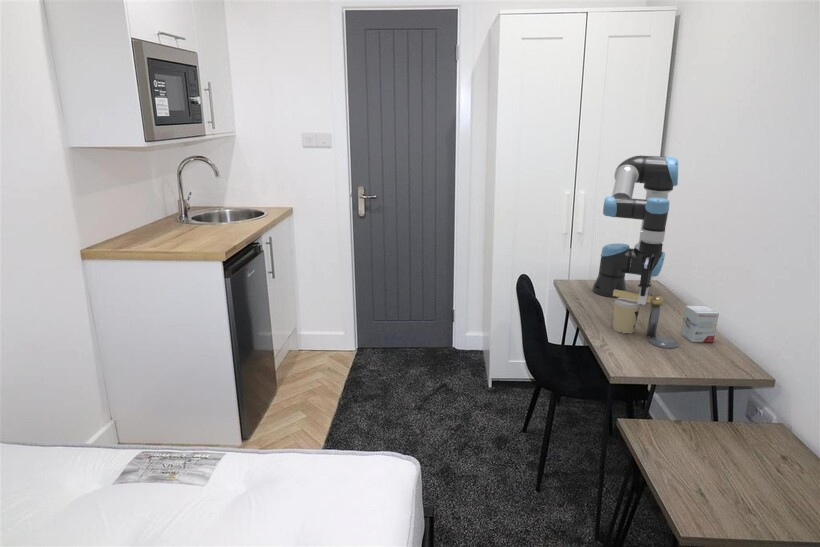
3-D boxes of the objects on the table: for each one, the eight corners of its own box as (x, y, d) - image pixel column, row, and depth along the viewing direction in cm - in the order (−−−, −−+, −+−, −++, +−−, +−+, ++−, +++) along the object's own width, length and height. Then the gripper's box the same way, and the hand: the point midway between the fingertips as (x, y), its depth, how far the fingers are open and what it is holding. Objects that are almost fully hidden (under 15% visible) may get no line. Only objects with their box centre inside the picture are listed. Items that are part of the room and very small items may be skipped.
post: (647, 333, 209) (652, 302, 206) (656, 335, 207) (661, 304, 204) (645, 336, 206) (650, 304, 203) (654, 338, 205) (660, 306, 201)
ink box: (701, 334, 210) (707, 305, 207) (713, 342, 202) (720, 313, 199) (679, 333, 210) (684, 304, 207) (691, 342, 202) (697, 312, 199)
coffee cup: (638, 335, 206) (643, 305, 203) (612, 333, 208) (616, 303, 205) (633, 326, 215) (638, 298, 212) (609, 324, 217) (613, 295, 214)
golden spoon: (614, 294, 213) (615, 288, 212) (663, 303, 204) (664, 296, 203) (612, 297, 209) (612, 290, 208) (661, 306, 200) (662, 299, 200)
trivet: (650, 335, 207) (651, 334, 207) (679, 341, 202) (680, 340, 202) (646, 344, 199) (647, 342, 198) (676, 350, 194) (677, 349, 194)
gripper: (643, 236, 203) (634, 297, 209) (637, 243, 192) (627, 306, 198) (665, 239, 199) (655, 300, 205) (660, 246, 188) (649, 310, 195)
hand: (641, 303), depth 202 cm, fingers closed
